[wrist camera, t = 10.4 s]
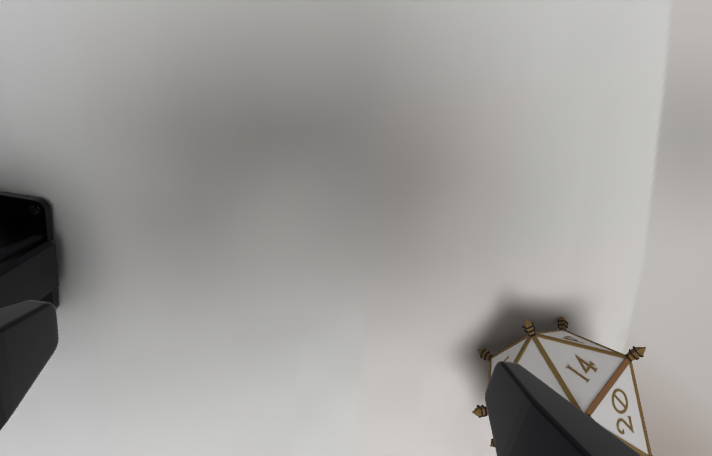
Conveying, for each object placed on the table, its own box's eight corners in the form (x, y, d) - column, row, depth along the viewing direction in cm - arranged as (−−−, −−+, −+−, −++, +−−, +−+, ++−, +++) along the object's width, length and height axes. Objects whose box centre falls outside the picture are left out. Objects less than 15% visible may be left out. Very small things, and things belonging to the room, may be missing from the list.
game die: (484, 301, 28) (500, 289, 18) (625, 334, 25) (727, 340, 16) (457, 439, 26) (460, 504, 17) (605, 487, 24) (704, 594, 14)
